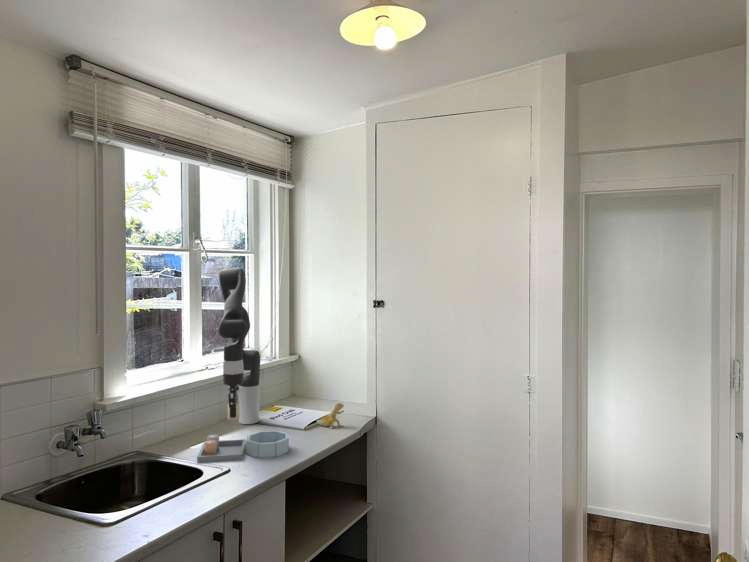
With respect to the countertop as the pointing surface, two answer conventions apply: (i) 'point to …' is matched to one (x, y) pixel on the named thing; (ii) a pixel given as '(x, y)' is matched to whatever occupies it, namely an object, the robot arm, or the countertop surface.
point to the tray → (225, 451)
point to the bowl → (267, 444)
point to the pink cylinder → (214, 437)
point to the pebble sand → (236, 412)
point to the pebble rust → (210, 447)
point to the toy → (331, 417)
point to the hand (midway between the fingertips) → (233, 415)
